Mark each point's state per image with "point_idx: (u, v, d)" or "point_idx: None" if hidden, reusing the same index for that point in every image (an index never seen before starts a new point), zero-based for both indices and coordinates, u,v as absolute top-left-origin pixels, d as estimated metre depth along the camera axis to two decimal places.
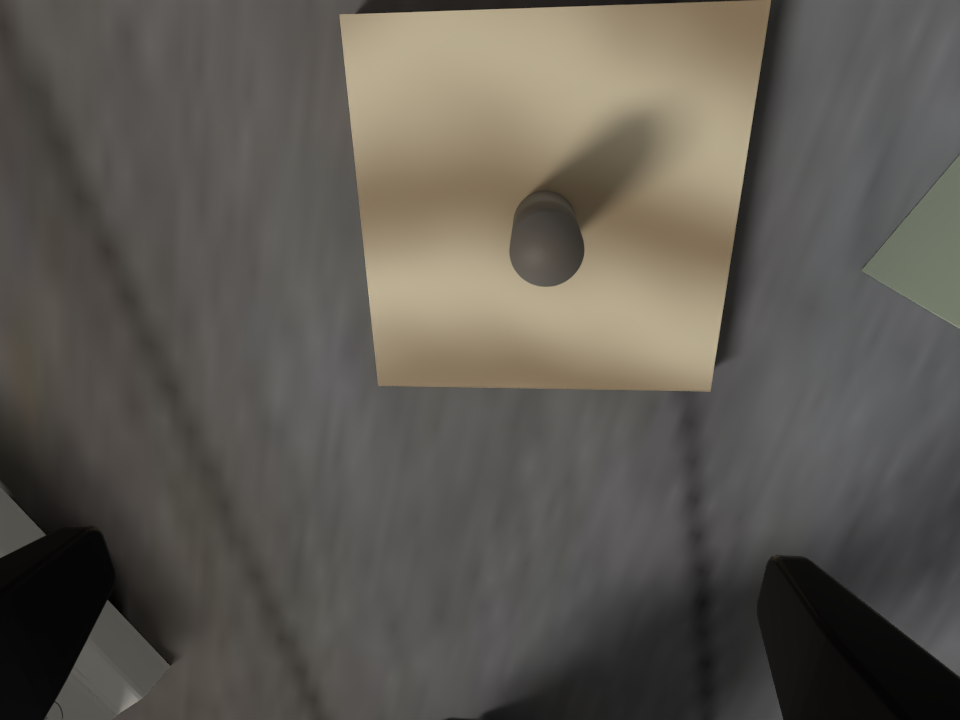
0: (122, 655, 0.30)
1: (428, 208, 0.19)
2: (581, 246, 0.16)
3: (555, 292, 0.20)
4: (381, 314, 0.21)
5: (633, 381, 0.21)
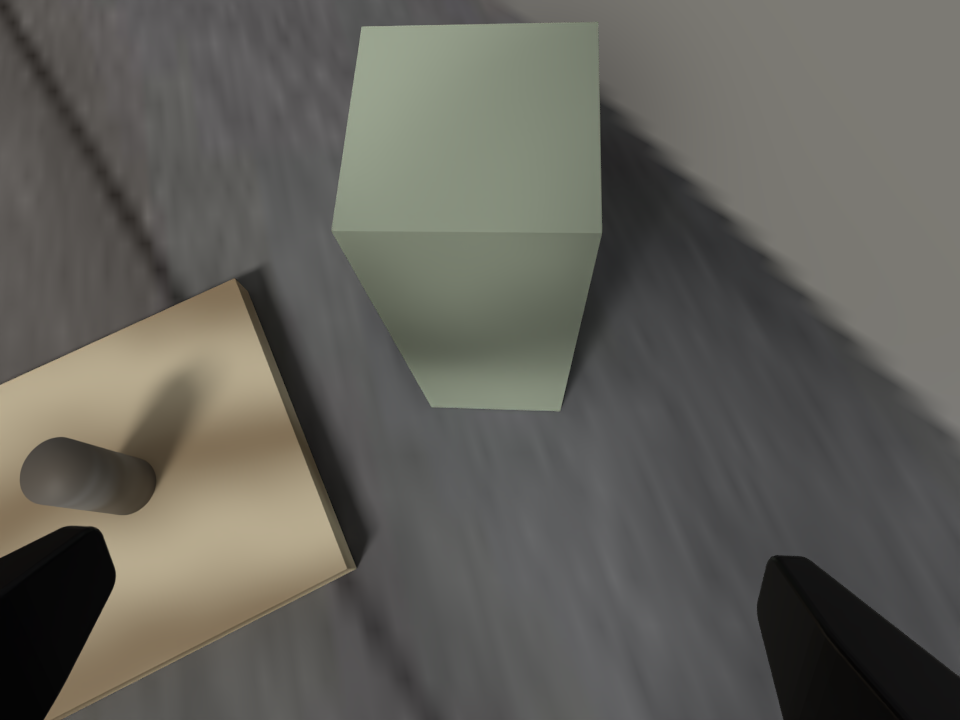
0: None
1: (23, 522, 0.21)
2: (80, 452, 0.18)
3: (157, 543, 0.20)
4: None
5: (267, 597, 0.20)
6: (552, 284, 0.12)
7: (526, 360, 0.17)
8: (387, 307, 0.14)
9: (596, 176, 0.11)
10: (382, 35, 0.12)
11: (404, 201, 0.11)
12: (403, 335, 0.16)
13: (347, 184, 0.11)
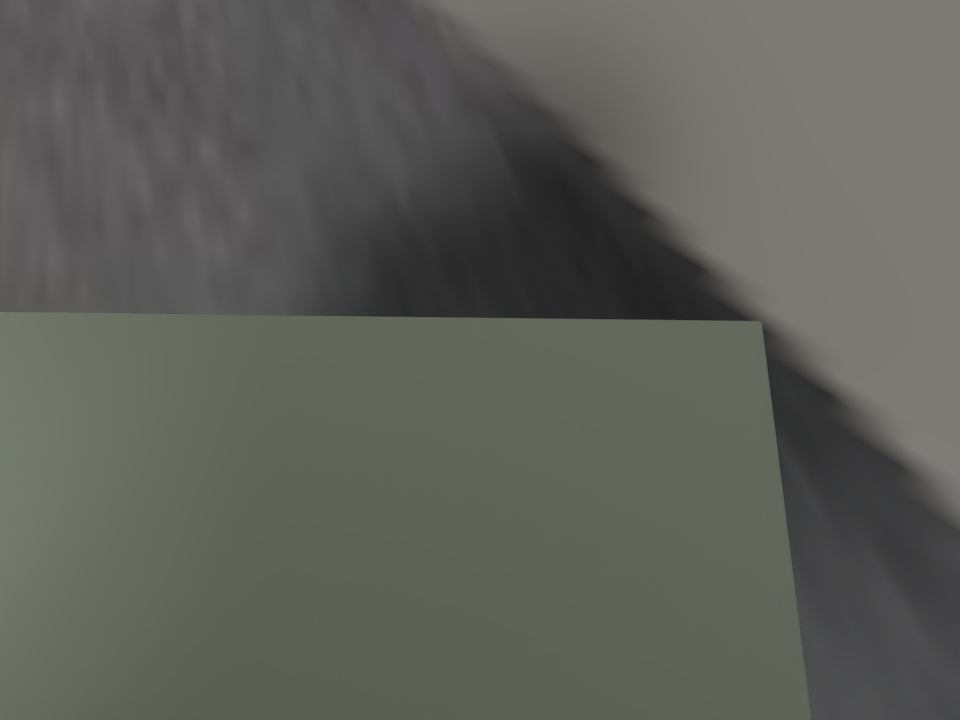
0: None
1: None
2: None
3: None
4: None
5: None
6: None
7: None
8: None
9: None
10: None
11: None
12: None
13: None
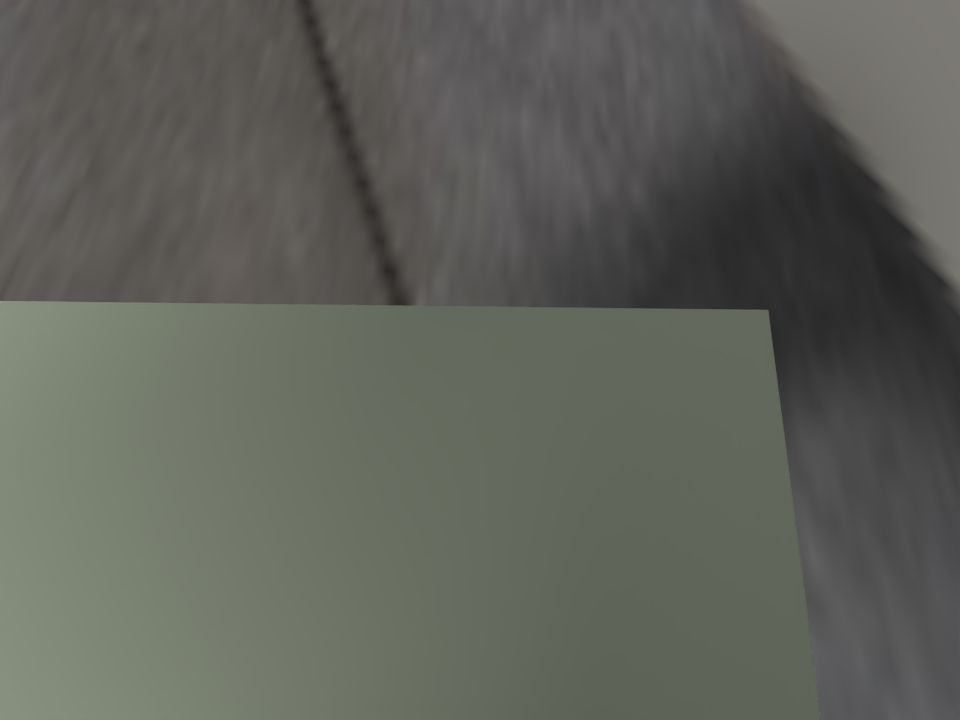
0: None
1: None
2: None
3: None
4: None
5: None
6: None
7: None
8: None
9: None
10: None
11: None
12: None
13: None
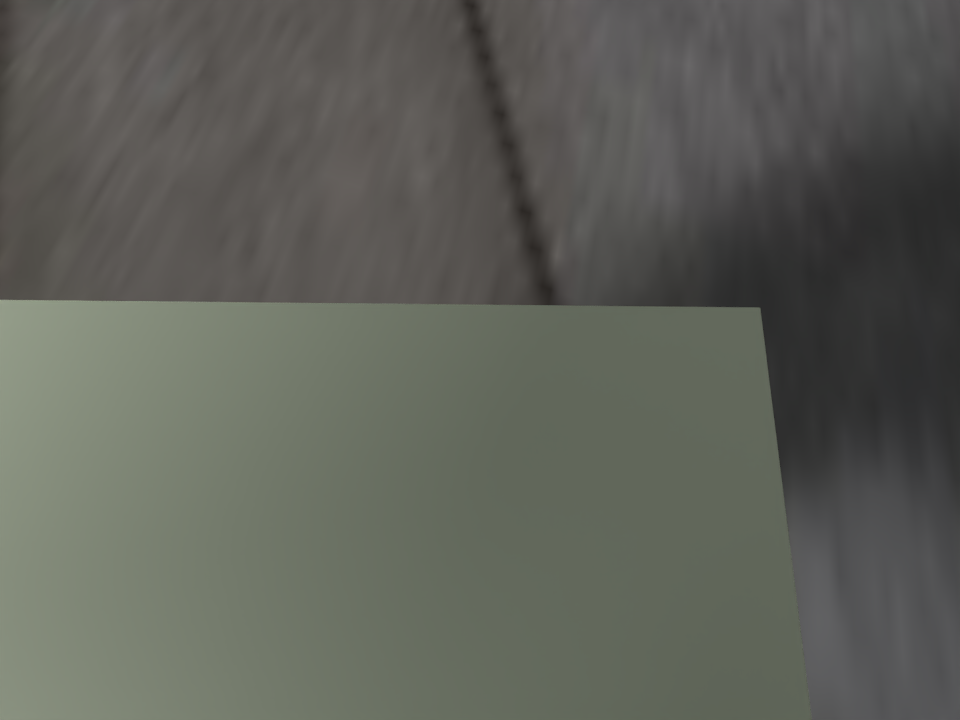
0: None
1: None
2: None
3: None
4: None
5: None
6: None
7: None
8: None
9: None
10: None
11: None
12: None
13: None
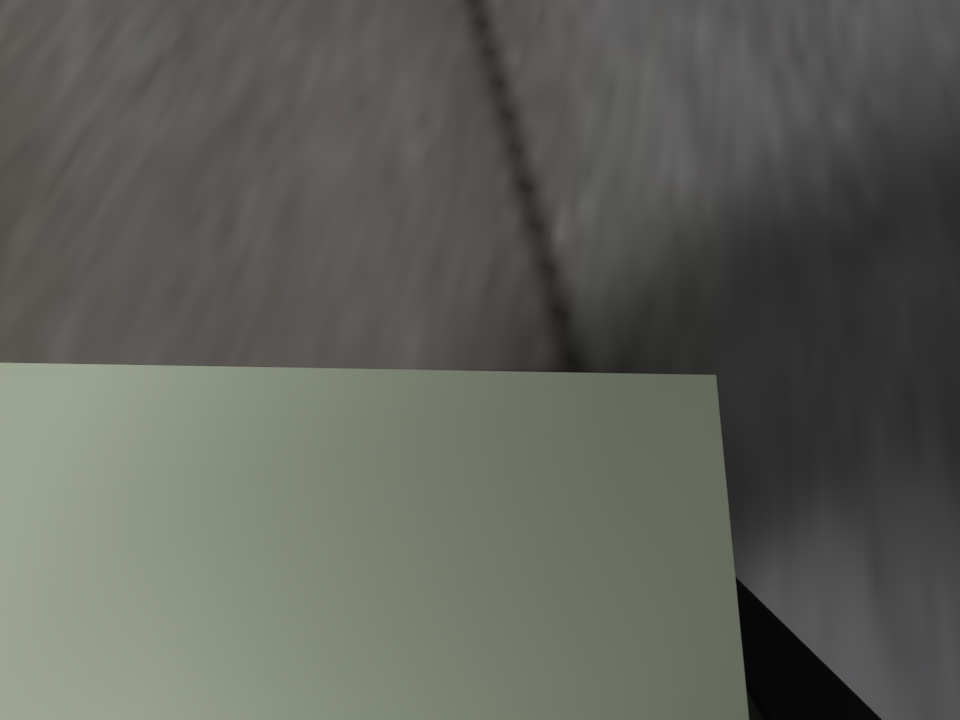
0: None
1: None
2: None
3: None
4: None
5: None
6: None
7: None
8: None
9: None
10: None
11: None
12: None
13: None
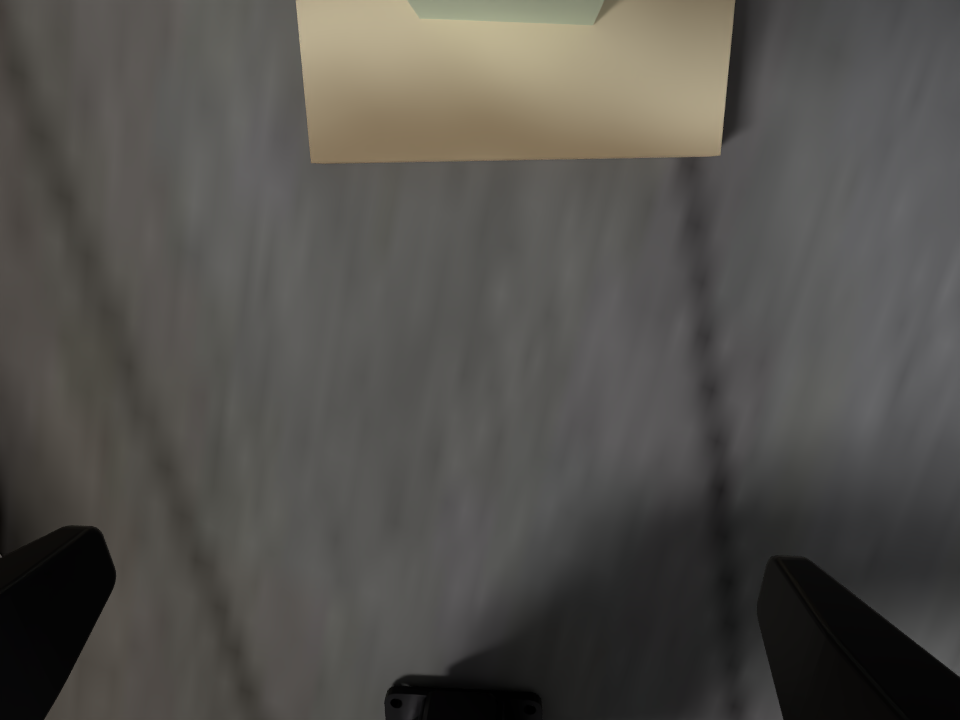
0: None
1: None
2: None
3: None
4: (314, 59, 0.17)
5: (624, 144, 0.17)
6: None
7: None
8: None
9: None
10: None
11: None
12: None
13: None
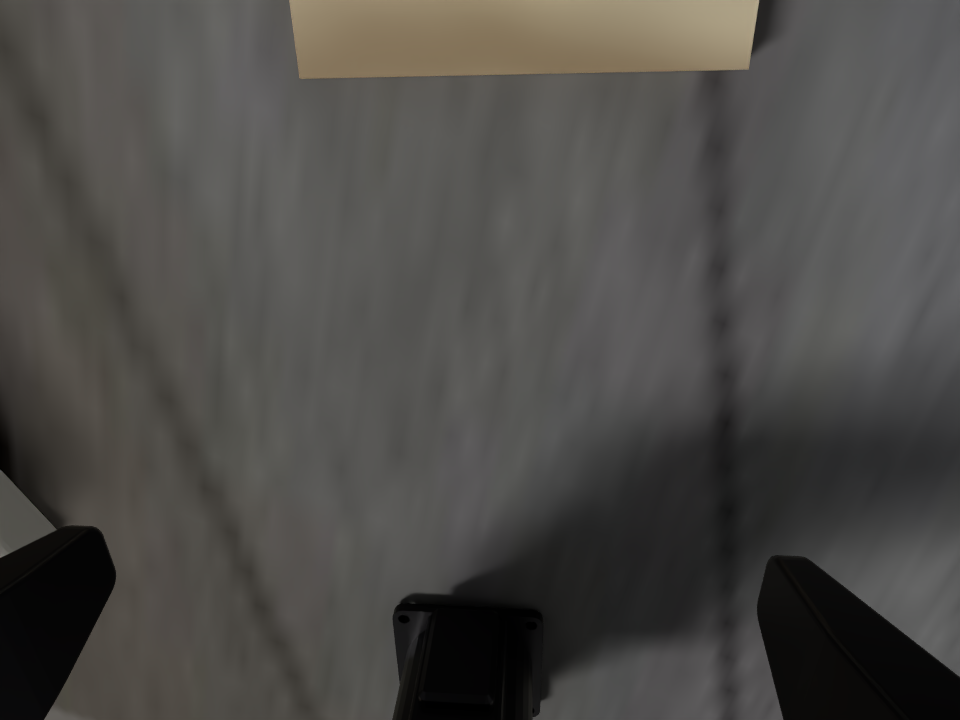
0: None
1: None
2: None
3: None
4: None
5: (643, 57, 0.16)
6: None
7: None
8: None
9: None
10: None
11: None
12: None
13: None
